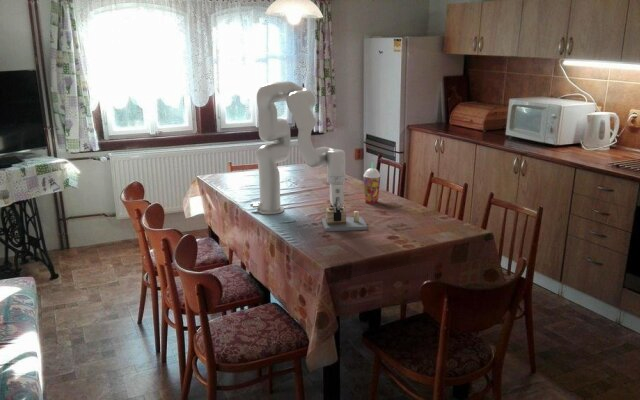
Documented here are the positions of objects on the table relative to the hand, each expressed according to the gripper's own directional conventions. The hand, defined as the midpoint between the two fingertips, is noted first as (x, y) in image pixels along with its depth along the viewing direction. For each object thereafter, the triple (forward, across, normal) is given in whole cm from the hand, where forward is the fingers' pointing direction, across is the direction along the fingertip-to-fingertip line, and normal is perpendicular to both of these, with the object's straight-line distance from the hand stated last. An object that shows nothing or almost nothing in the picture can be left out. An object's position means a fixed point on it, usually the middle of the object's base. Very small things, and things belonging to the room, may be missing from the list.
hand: (335, 217), depth 231 cm
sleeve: (+2, 0, 0) cm, 2 cm away
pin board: (+4, 0, -4) cm, 5 cm away
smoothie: (+4, +33, -22) cm, 40 cm away
